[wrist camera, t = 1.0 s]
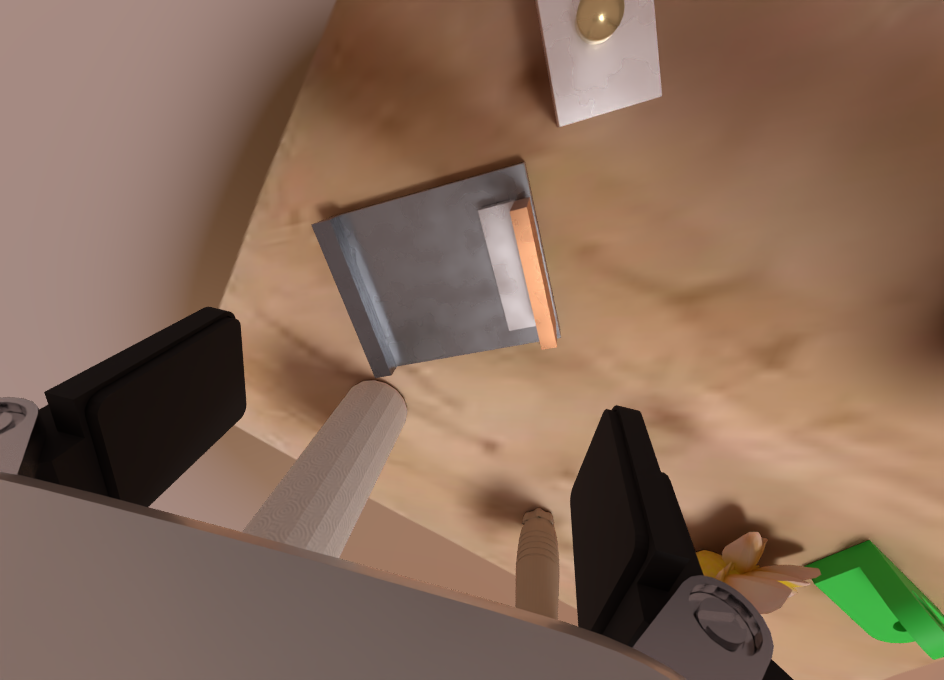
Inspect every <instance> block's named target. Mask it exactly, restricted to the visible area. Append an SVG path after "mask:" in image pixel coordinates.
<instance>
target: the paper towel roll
mask: <svg viewBox="0 0 944 680" xmlns="http://www.w3.org/2000/svg"><path fill="white" fill-rule="evenodd" d="M406 416H407V407H406V404H405V401H404V399H403V397H402V396H401V395H400V394H399V392H398V391H397V390H396V389H394V388H393V387H391V386H390V385H388V384H386V383H383V382H379V381H375V380H371V381H362V382H360V383H359V384H357V385H355V386H353V387H352V388H351V389H350V391H349V392H348V393H347V394H346V396H345V397H344V398H343V400H342V401H341V402H340V404H339V405H338V406H337V408H336V409H335V410H334V412H333V413H332V414H331V416H330V417H329V418H328V420H327V421H326V422H325V423H324V425H323V426H322V427H321V429H320V430H319V431H318V433H317V434H316V435H315V437H314V438H313V439H312V441H311V442H310V443H309V445H308V446H307V447H306V449H305V450H304V451H303V452H302V454H301V455H300V456H299V458H298V459H297V460H296V462H295V463H294V464H293V466H292V467H291V468H290V470H289V471H288V472H287V474H286V475H285V477H284V478H283V479H282V480H281V482H280V483H279V484H278V486H277V487H276V488H275V490H274V491H273V492H272V493H271V495H270V496H269V497H268V499H267V500H266V501H265V503H264V504H263V505H262V507H261V508H260V509H259V511H258V512H257V513H256V514H255V516H254V517H253V519H252V520H251V521H250V522H249V524H248V525H247V526H246V528H245V529H244V530H243V533H247V534H251V535H254V536H258V537H262V538H265V539H269V540H273V541H277V542H280V543H284V544H288V545H291V546H295V547H299V548H303V549H306V550H310V551H314V552H317V553H321V554H325V555H328V556H332V557H336V558H339V557H340V555H341V553H342V551H343V549H344V547H345V545H346V542H347V540H348V538H349V536H350V534H351V532H352V530H353V528H354V526H355V524H356V522H357V520H358V518H359V516H360V514H361V512H362V510H363V508H364V505H365V504H366V501H367V499H368V497H369V495H370V493H371V491H372V489H373V487H374V485H375V483H376V481H377V479H378V477H379V475H380V473H381V471H382V469H383V467H384V465H385V462H386V460H387V458H388V456H389V454H390V452H391V450H392V448H393V446H394V444H395V442H396V440H397V438H398V436H399V434H400V432H401V430H402V428H403V426H404V424H405V421H406Z"/></svg>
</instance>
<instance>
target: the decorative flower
mask: <svg viewBox="0 0 944 680" xmlns="http://www.w3.org/2000/svg"><path fill="white" fill-rule="evenodd" d="M767 540H768V539H766V538H762V537H761V536H760V534H759V533H758V532H749V533H747V534H745V535H743V536H741V537H740V538H738V539H737V540H735V541H734V542H732V543H730V544H729V545H727V546H725V548H724V550H723V552H722V555H720V554H717V553H714V552H711V551H707V550H703V551H699V552H696V555H697V558H698V560H699V563H700V566H701V569H702V572H703V575H704V576H708V577H713V578H715V579H717V580H720V581H722V582H724V583H726V584H728V585H729V586H731V587H732V588H734V589H735V590H737V591H738V592H740V593H741V594H742V595H743V596H744V597H745V598H746V599H747V600H748V601H749V602H751V603H752V604H753V606H754V607H755V608H756V610H757V611H758V612H759V613H760V614H768V613H771V612H773V611H775V610H777V609H779V608H781V607H782V605H783V604H784V602H785V601H786V600H787V598H789V597H791V596H793V595H795V594H797V593H798V592H797V590H796V589H794V588H793V587H802V586H808V585H810V584H811V583H808V582H806V581H803V580H807V579H813V578H816V577H818V576H819V575H821V572H820V570H819V569H818V568H810V567H802V566H795V565H771V566H765V567H759V566H760V565H756V564H757V563H758V561H759V559H760V557H761V555H762V553H763V551H764V548H765V545H766V542H767ZM758 567H759V568H758Z"/></svg>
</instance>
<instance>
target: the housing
mask: <svg viewBox="0 0 944 680" xmlns="http://www.w3.org/2000/svg"><path fill="white" fill-rule="evenodd" d="M535 3H536V9H537V15H538V21H539V26H540V32H541V38H542V43H543V49H544V55H545V60H546V66H547V72H548V77H549V83H550V89H551V95H552V100H553V106H554V112H555V117H556V123H557V127H561V126H564V125H568V124H571V123H574V122H578V121H581V120H584V119H588V118H591V117H594V116H598V115H601V114H604V113H608V112H611V111H614V110H618V109H621V108H624V107H628V106H631V105H634V104H638V103H641V102H644V101H648V100H651V99H654V98H658V97H661V96H662V90H661V78H660V66H659V55H658V43H657V31H656V20H655V8H654V0H535Z"/></svg>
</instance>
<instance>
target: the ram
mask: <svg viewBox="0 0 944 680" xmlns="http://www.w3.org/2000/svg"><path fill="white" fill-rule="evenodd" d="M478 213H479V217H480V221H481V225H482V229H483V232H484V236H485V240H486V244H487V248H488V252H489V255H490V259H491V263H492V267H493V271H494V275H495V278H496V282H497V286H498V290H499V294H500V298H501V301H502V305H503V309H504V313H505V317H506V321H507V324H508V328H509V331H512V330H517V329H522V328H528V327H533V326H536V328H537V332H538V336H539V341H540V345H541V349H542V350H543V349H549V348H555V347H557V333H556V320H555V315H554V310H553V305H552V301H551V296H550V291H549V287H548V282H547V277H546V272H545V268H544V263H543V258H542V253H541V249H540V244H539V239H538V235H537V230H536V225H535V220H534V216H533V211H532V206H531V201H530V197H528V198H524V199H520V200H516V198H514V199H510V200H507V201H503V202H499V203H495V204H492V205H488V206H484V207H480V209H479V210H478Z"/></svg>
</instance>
